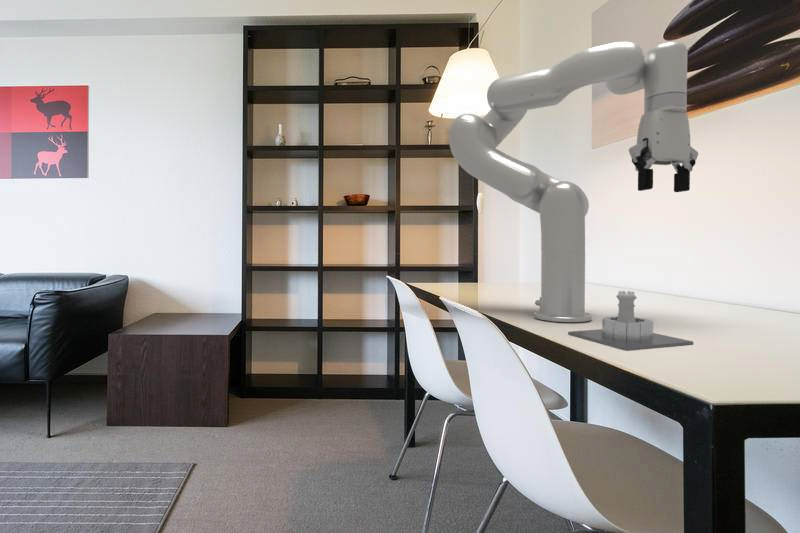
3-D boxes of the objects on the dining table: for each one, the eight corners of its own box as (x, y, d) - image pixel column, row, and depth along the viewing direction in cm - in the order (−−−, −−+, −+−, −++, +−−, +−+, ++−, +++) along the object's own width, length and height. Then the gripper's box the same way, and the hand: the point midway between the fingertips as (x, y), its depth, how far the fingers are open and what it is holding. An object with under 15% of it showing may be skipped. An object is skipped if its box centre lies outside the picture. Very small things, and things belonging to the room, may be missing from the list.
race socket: (568, 334, 82) (568, 316, 82) (627, 329, 86) (627, 312, 86) (626, 350, 69) (626, 328, 68) (693, 344, 73) (693, 323, 73)
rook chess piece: (643, 338, 75) (644, 293, 75) (615, 337, 76) (616, 292, 76) (635, 334, 79) (636, 290, 79) (609, 333, 80) (609, 290, 80)
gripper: (680, 116, 96) (679, 194, 96) (617, 109, 91) (616, 191, 91) (713, 105, 88) (712, 189, 89) (647, 97, 83) (645, 186, 84)
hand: (663, 190), depth 90 cm, fingers open, 9 cm apart
